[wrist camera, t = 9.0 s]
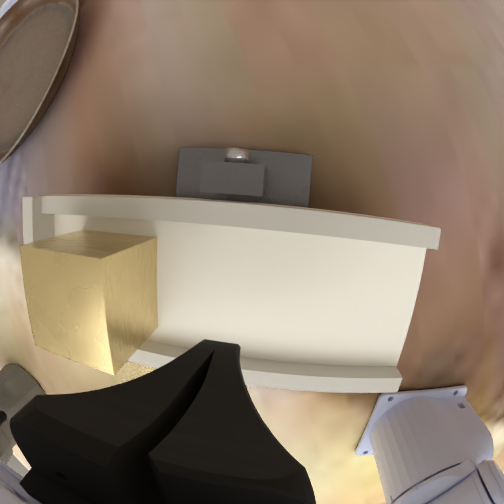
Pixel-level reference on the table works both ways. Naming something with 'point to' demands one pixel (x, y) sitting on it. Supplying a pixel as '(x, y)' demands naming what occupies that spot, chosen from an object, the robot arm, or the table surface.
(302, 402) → the table surface
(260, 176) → the pivot stand
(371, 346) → the beam
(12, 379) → the coffeepot
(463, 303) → the table surface
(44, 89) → the plant saucer
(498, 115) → the table surface
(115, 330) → the brass block
